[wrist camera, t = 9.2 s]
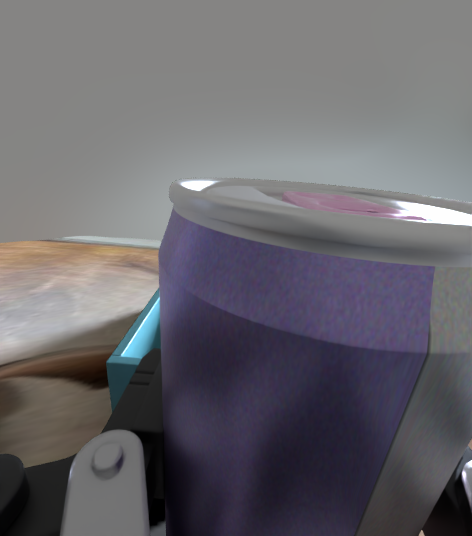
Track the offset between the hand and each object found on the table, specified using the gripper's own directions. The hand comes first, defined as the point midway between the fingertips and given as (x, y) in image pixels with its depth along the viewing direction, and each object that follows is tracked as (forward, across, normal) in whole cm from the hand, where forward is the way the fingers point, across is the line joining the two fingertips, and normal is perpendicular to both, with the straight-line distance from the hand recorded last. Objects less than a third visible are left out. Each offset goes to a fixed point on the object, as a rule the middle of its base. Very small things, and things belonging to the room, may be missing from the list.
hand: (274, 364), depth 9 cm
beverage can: (-3, 0, -9) cm, 10 cm away
